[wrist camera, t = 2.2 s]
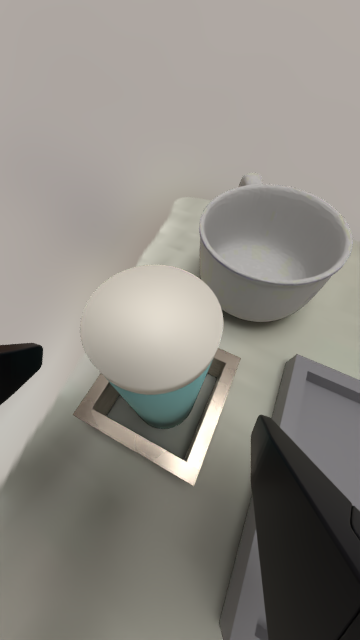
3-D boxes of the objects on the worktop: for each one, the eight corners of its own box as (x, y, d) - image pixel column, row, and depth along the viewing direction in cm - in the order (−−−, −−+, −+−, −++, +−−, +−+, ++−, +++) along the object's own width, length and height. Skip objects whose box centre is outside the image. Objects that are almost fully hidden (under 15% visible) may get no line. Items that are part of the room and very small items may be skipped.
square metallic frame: (189, 479, 15) (193, 486, 12) (90, 421, 17) (72, 414, 14) (229, 373, 19) (240, 358, 16) (146, 334, 20) (141, 313, 17)
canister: (178, 440, 16) (186, 419, 6) (123, 410, 17) (47, 345, 7) (203, 382, 18) (242, 292, 8) (153, 358, 19) (130, 249, 9)
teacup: (305, 345, 20) (373, 290, 13) (185, 328, 21) (191, 266, 14) (290, 240, 27) (330, 168, 20) (201, 229, 28) (210, 155, 21)
